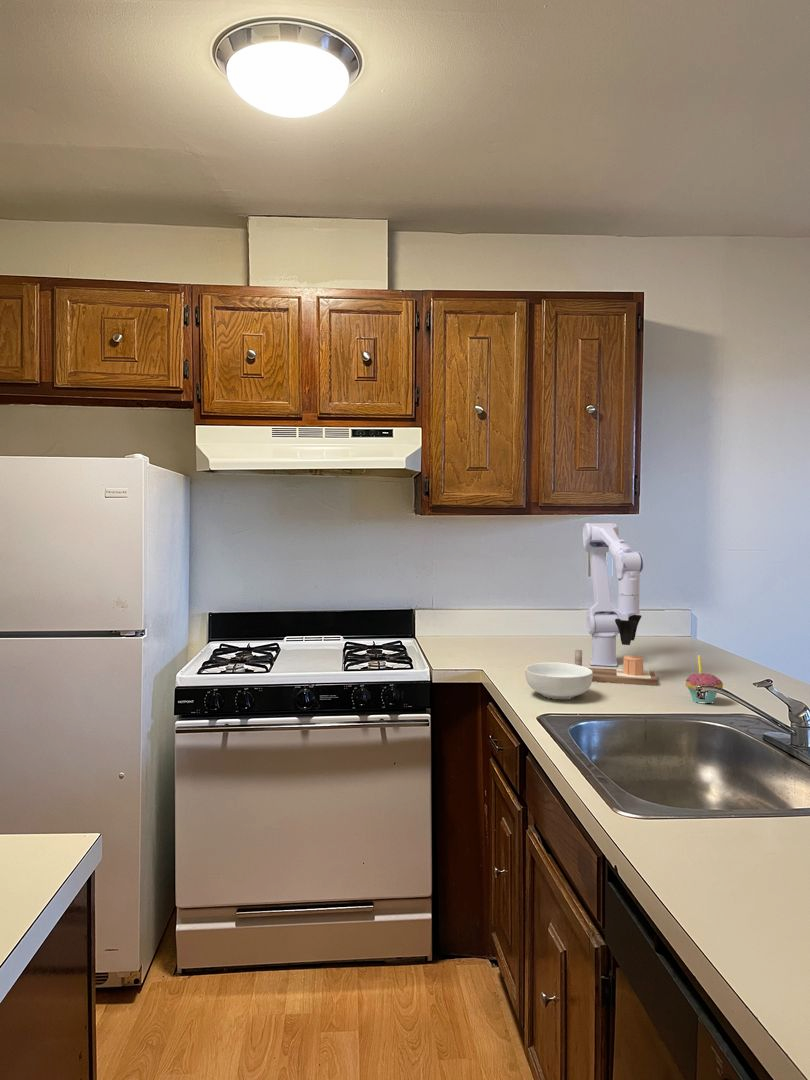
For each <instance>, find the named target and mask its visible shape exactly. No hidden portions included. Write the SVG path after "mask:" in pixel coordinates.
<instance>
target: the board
mask: <svg viewBox="0 0 810 1080" xmlns="http://www.w3.org/2000/svg"><path fill="white" fill-rule="evenodd" d="M574 665H579V666H583V650H581V649H575V650H574ZM588 668H589V669H590V670H592V672H593V677H592V681H597V682H596V683H606V682H610V683H609V684H622V683H624V685H640V686H642V685H643V686H656V687H657V686H658V678H657V676H656V672H655V670H654V671H653V670H652V671H651V670H643V675H636V676H635V675H627V674H624V673H623V669H621V668H615V669H614V668H599V667H598V668H597V667H596V668H595V667H588Z"/></svg>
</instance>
